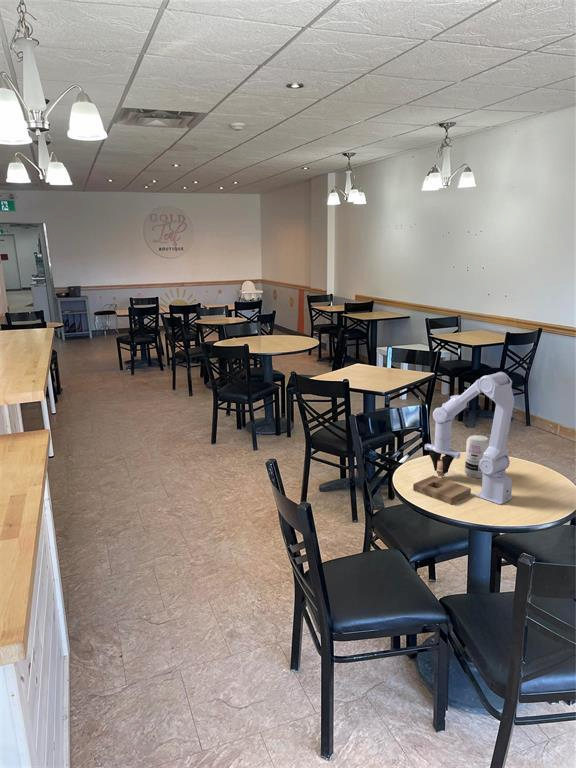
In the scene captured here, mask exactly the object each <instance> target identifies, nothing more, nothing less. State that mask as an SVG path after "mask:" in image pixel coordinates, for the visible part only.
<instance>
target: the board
mask: <svg viewBox="0 0 576 768" xmlns="http://www.w3.org/2000/svg"><path fill="white" fill-rule="evenodd" d="M412 489H413V490H412V491H414V492H416V491H417V493H420V494H422V495H425V496H427V497H430V498H432V499H435V500H437V501H440V502H443V503H445V504H448V505H453V504H455V503H457V502H459V501H461V500H463V499H465V498H467V497H469V496H471V492H472V487H468V486H466V485H463V484H460V483H457V482H453V481H450V480H448V479H445V478H443V477H440V476H438V475H431V476H428V477H426V478H423V479H422V480H420V481H417V482H414V483H413V485H412Z"/></svg>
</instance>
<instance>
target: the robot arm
mask: <svg viewBox="0 0 576 768" xmlns="http://www.w3.org/2000/svg"><path fill="white" fill-rule="evenodd" d="M512 385H513V380H512V379H511V378H510V377H509V375H508V374H507V373H505V372H503V371H498V372H496V373H492V374H488V375H487V374H486V375H483V376H481V377H480V378H478V379H476V380H475V382H473V384H471V386H469V387H468V388H467V389H466V390H465V391H464V392H462V393H461V394H456V395H451V396H449V400H447V401H446V402H444V403H442V405H441V407H436V408H435V409H434V410H433V412H432V418H433V420H434V421H435V427H434V428H435V429H434V444H430V443H425V444H424V450H426V451H430V452H429V454H428V456H429V458H430V459H431V462H432V464H433V469H434V471H435V472H437V460H439V459H442V461H443V473H444V475H446V474H448V472H449V470H450V466H451V464H452V462H453V460H454V459H456V460H459V459H461V452H458V451H456V450H454V449H453V448H451V438H452V437H451V436H452V435H451V434H452V425H453V421H454V419H455V417H456V415H458V414H459V413H461V412H462V411H463V410H465V409H466V408H467V403H468V402H470V401H471V400H472V399H474V398H475V397H477V396H478V395H479V394H482V393H483V394H484V395H485V396H486V397H487V398H489V399H490V400H491V401H493V402H494V403H495V408H494V409H495V410H494V414H493V418H492V419H493V420H492V426H491V432H490V436H489V447H488V448H487V449H486V451H485V452H484V454H483V458H482V459H481V460H480V462H479V467H480V470H481V471H482V474H483V478H481V479H482V481H481V492H478V493H477V494H476V495H475V496H476V497H477V498H480V499H483V500H486V501H488V502H492V503H495V504H498V505H504V504H505V503H506V502H508V501H510V500H511V499H513V497H512V492H513V480H512V478H511V477H510V476H508V475H506V469H508V468H509V467H510V461H511V460H510V458H509V457H510V455H509V454H510V452H509V450H508V449H507V448H506V447H507V442H508V437H509V432H510V427H511V420H512V417H513V416H512V415H513V411H514V406H515V397H514V394H513V393H514V392H513V389H512Z"/></svg>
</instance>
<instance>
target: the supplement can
mask: <svg viewBox="0 0 576 768" xmlns="http://www.w3.org/2000/svg"><path fill="white" fill-rule="evenodd" d="M489 442H490V440H489V438H488V437H487V436H484V435H479V434H472V435H469V436H468V438H467V439H466V443H465V444H466V446H465V461H464V462H465V463H464V474H465V475H466V476H468V477H470V478H475V479H482V478H483V474H482V471H481V470H480V467H479V462H480V460H481V459H482V458H483V454H484V452H485V451H486V449H487V448H488V447H489Z"/></svg>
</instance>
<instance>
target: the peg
mask: <svg viewBox="0 0 576 768" xmlns="http://www.w3.org/2000/svg"><path fill="white" fill-rule="evenodd" d="M436 474H437V477H440V478H444V477H445V474H444V473H443V461H442V458H440V459H439V460H437V471H436Z"/></svg>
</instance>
